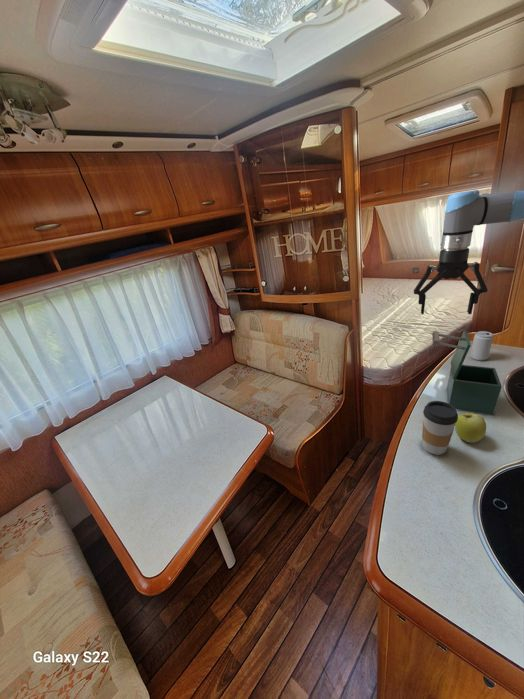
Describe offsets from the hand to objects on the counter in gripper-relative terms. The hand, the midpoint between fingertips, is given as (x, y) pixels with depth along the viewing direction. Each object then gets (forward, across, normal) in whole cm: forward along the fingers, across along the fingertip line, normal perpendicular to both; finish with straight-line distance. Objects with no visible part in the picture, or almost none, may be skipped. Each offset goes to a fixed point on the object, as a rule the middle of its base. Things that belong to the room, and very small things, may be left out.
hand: (445, 312), depth 93 cm
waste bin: (+32, +10, -6) cm, 34 cm away
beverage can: (+32, +19, +29) cm, 47 cm away
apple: (+32, +7, -24) cm, 41 cm away
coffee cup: (+32, -2, -32) cm, 45 cm away
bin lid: (+13, +6, -5) cm, 15 cm away
